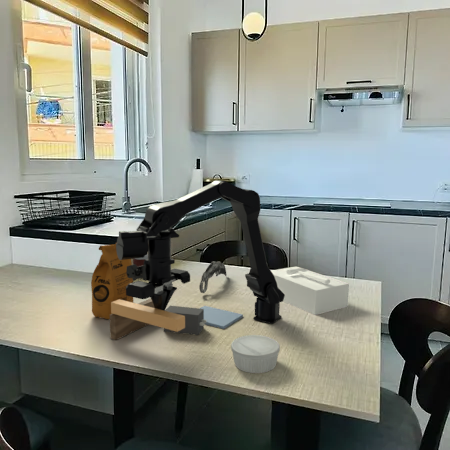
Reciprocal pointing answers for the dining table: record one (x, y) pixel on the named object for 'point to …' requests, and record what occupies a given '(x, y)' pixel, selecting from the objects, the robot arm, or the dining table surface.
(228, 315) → the pad
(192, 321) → the charcoal wedge block
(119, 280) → the coffee package
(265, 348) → the ramekin
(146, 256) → the mate gourd
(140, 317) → the tan wooden bar
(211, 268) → the grey curved piece
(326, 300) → the tissue box
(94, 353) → the dining table surface
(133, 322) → the rail
